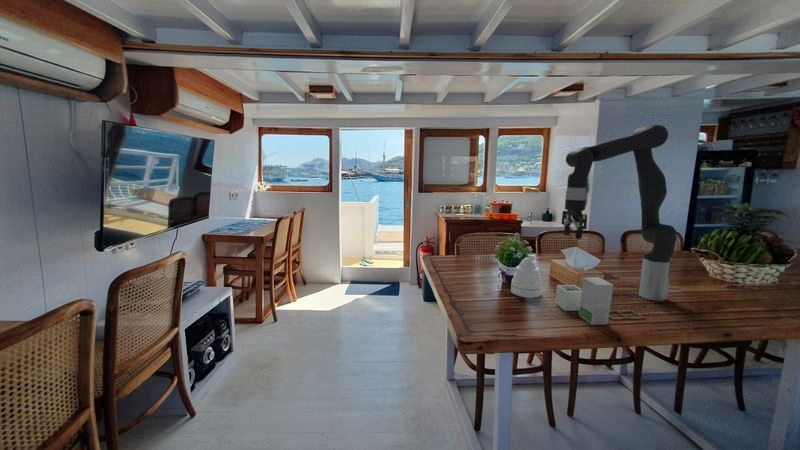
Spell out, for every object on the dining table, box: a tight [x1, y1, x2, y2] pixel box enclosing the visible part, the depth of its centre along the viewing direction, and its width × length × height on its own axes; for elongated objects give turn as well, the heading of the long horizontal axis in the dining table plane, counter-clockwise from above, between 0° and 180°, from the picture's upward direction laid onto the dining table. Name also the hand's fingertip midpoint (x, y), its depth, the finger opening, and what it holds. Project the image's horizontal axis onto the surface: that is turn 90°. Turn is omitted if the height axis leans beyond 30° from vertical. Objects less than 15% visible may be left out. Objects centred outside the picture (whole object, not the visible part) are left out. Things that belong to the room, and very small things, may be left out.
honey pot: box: [510, 254, 542, 299], centre depth 149 cm, size 13×13×18 cm
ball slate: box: [565, 287, 575, 291], centre depth 132 cm, size 4×4×4 cm
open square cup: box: [554, 284, 582, 312], centre depth 134 cm, size 8×8×8 cm
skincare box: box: [578, 276, 614, 326], centre depth 121 cm, size 8×7×16 cm
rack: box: [609, 309, 646, 321], centre depth 126 cm, size 13×7×1 cm, turn 93°
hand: (572, 236), depth 137 cm, fingers open, 8 cm apart
